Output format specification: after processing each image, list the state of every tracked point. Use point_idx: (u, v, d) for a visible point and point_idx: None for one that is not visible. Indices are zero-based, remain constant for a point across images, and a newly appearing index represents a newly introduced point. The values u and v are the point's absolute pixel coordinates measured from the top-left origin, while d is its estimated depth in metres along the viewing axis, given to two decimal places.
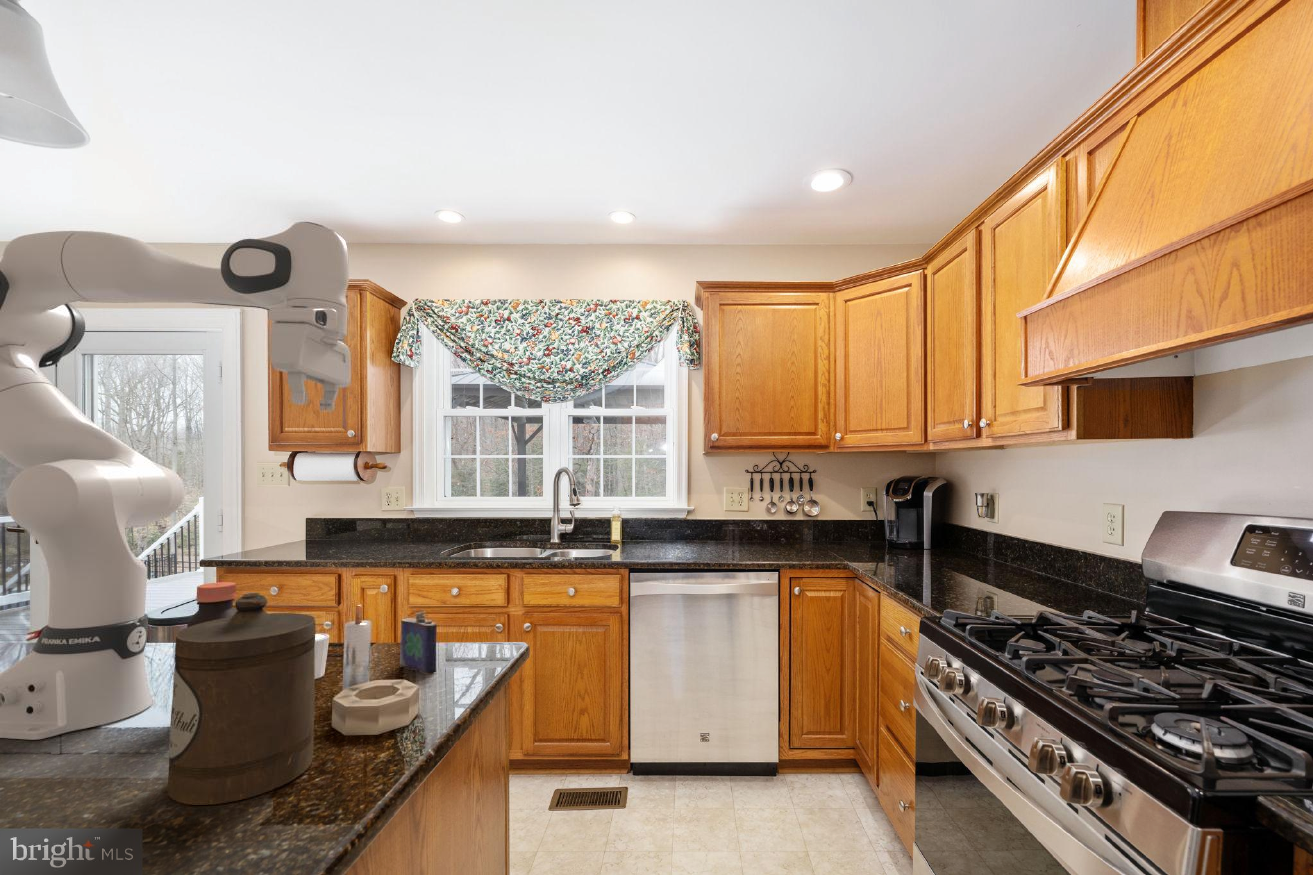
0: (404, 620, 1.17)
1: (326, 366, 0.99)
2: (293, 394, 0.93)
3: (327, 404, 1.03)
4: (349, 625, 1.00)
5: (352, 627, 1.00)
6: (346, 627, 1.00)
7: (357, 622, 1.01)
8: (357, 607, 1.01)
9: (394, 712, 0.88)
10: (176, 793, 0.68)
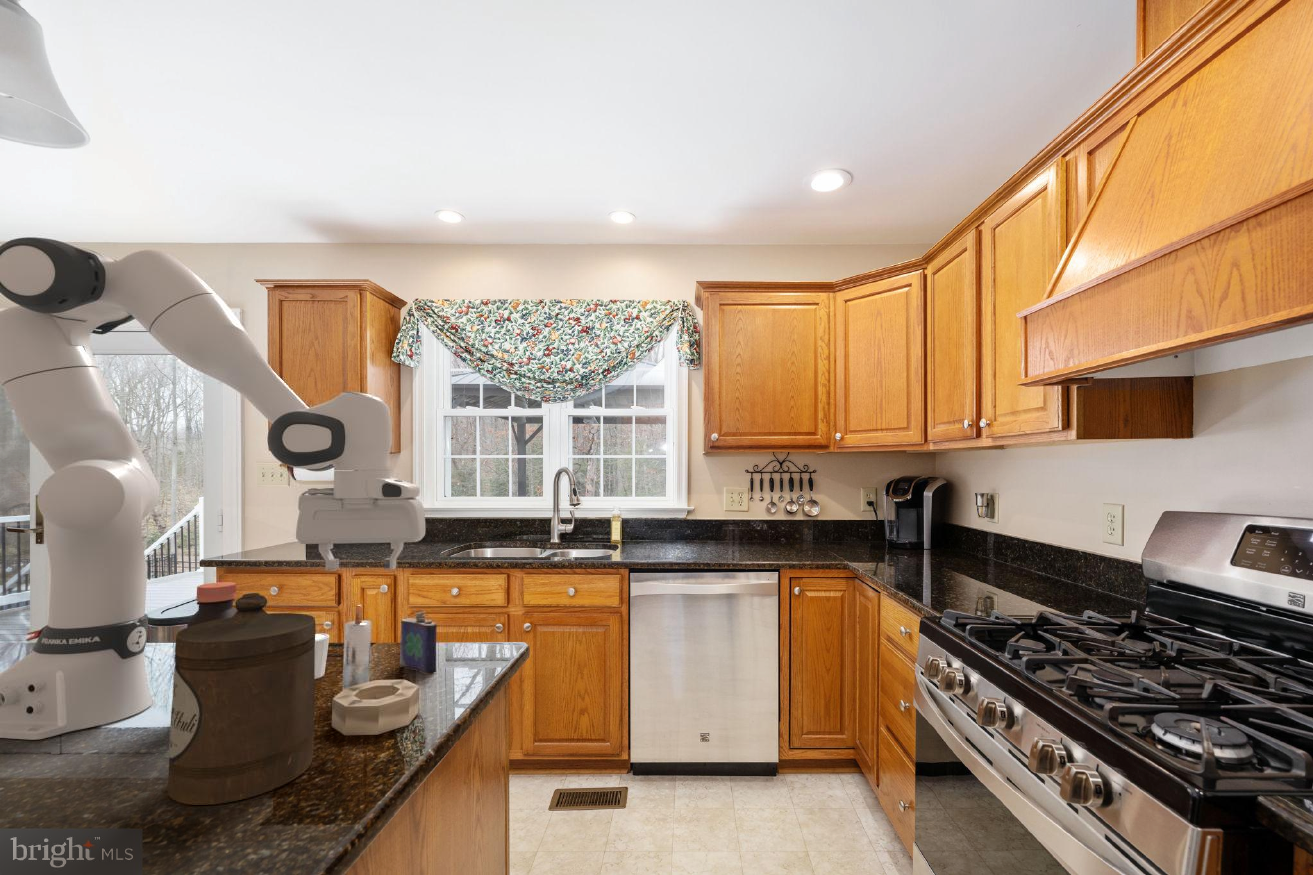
0: (404, 620, 1.17)
1: None
2: (393, 561, 1.02)
3: (336, 563, 1.02)
4: (349, 625, 1.00)
5: (352, 627, 1.00)
6: (346, 627, 1.00)
7: (357, 622, 1.01)
8: (357, 607, 1.01)
9: (394, 712, 0.88)
10: (176, 793, 0.68)
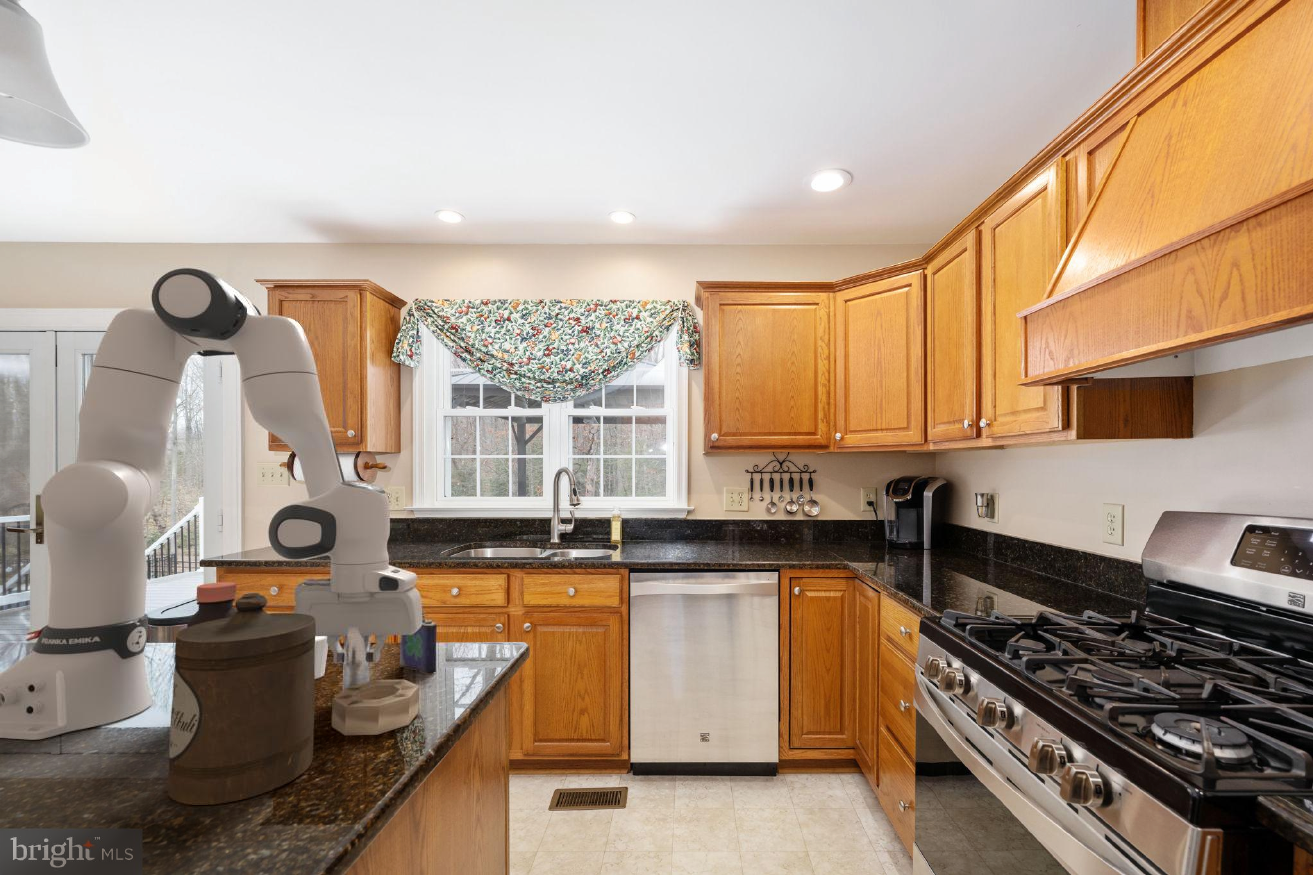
0: None
1: None
2: (376, 653, 1.01)
3: None
4: None
5: (352, 627, 1.00)
6: None
7: None
8: None
9: (394, 712, 0.88)
10: (176, 793, 0.68)
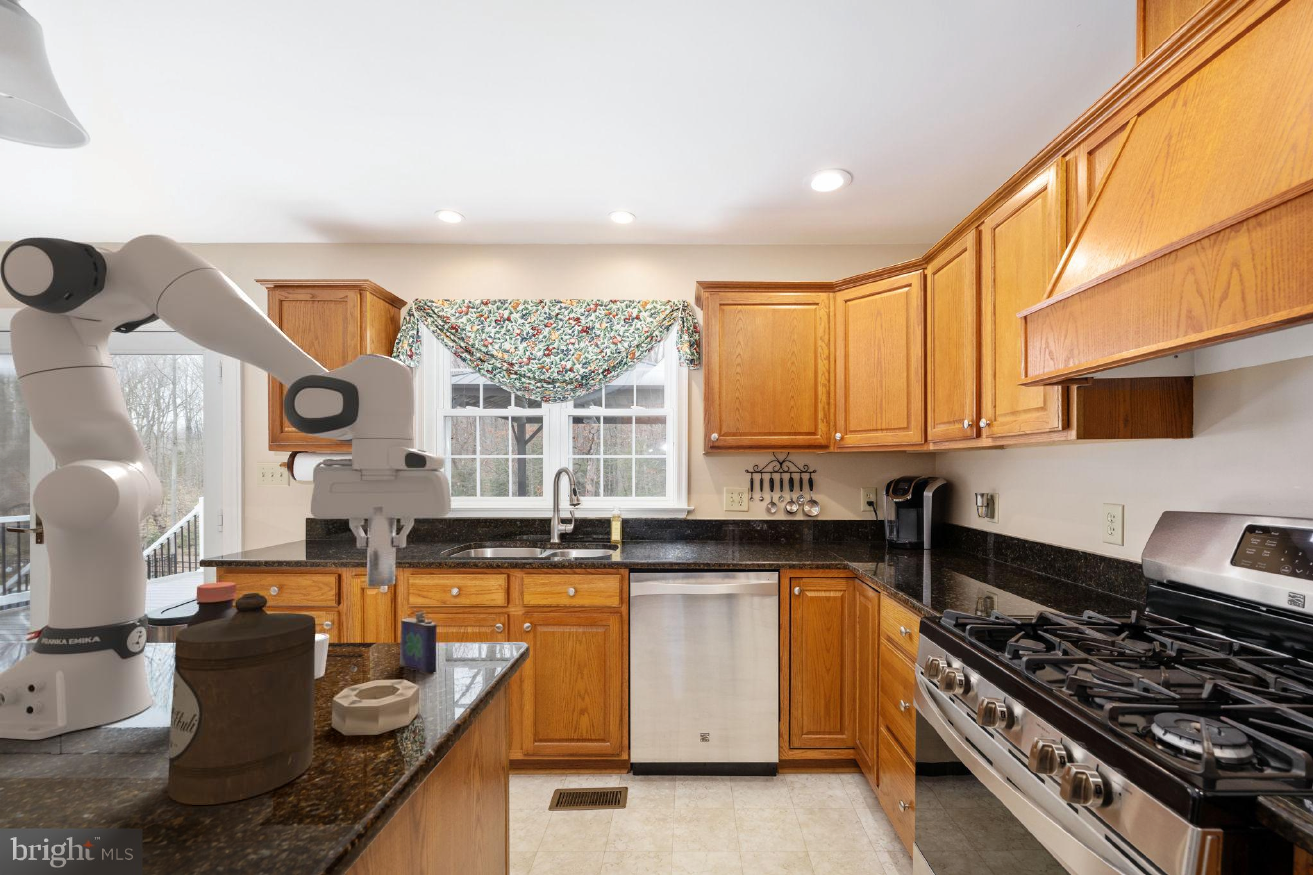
0: (404, 620, 1.17)
1: None
2: (403, 538, 0.94)
3: None
4: (373, 507, 0.93)
5: (376, 508, 0.92)
6: None
7: None
8: None
9: (394, 712, 0.88)
10: (176, 793, 0.68)
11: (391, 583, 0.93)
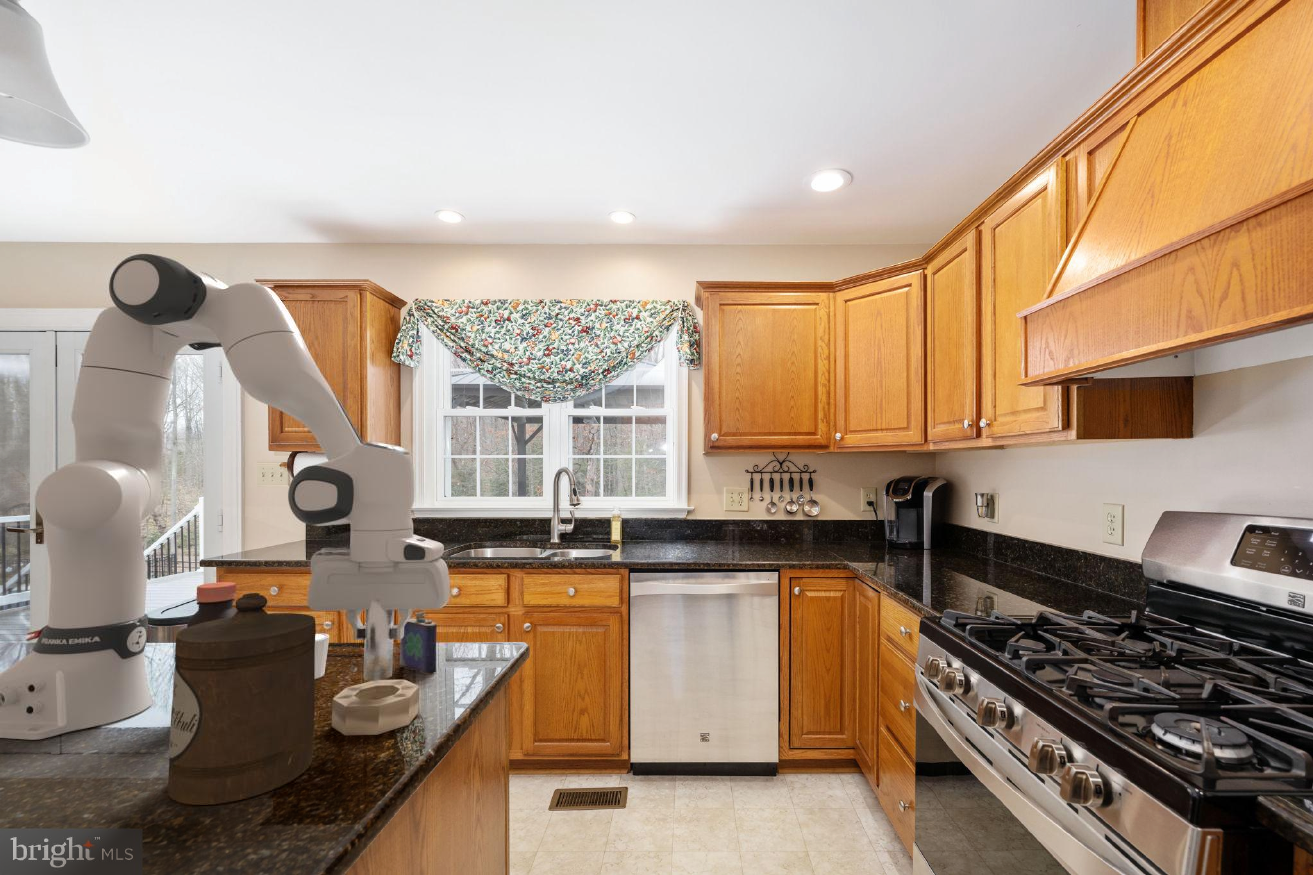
0: None
1: None
2: (401, 629, 0.92)
3: None
4: None
5: (374, 600, 0.91)
6: None
7: None
8: None
9: (394, 712, 0.88)
10: (176, 793, 0.68)
11: (388, 676, 0.91)
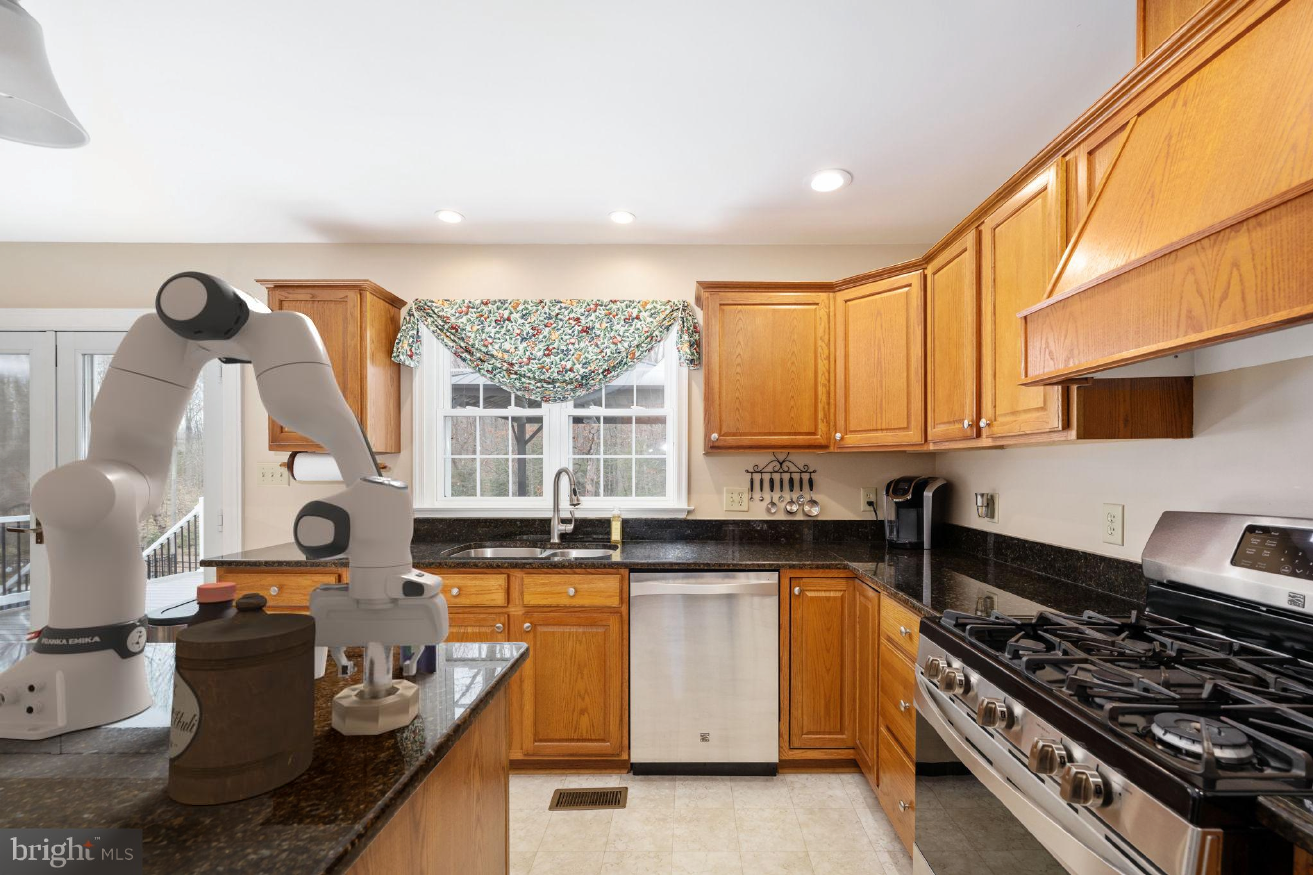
0: None
1: None
2: (413, 665, 0.92)
3: (350, 667, 0.92)
4: None
5: (372, 644, 0.90)
6: None
7: None
8: None
9: (394, 712, 0.88)
10: (176, 793, 0.68)
11: None
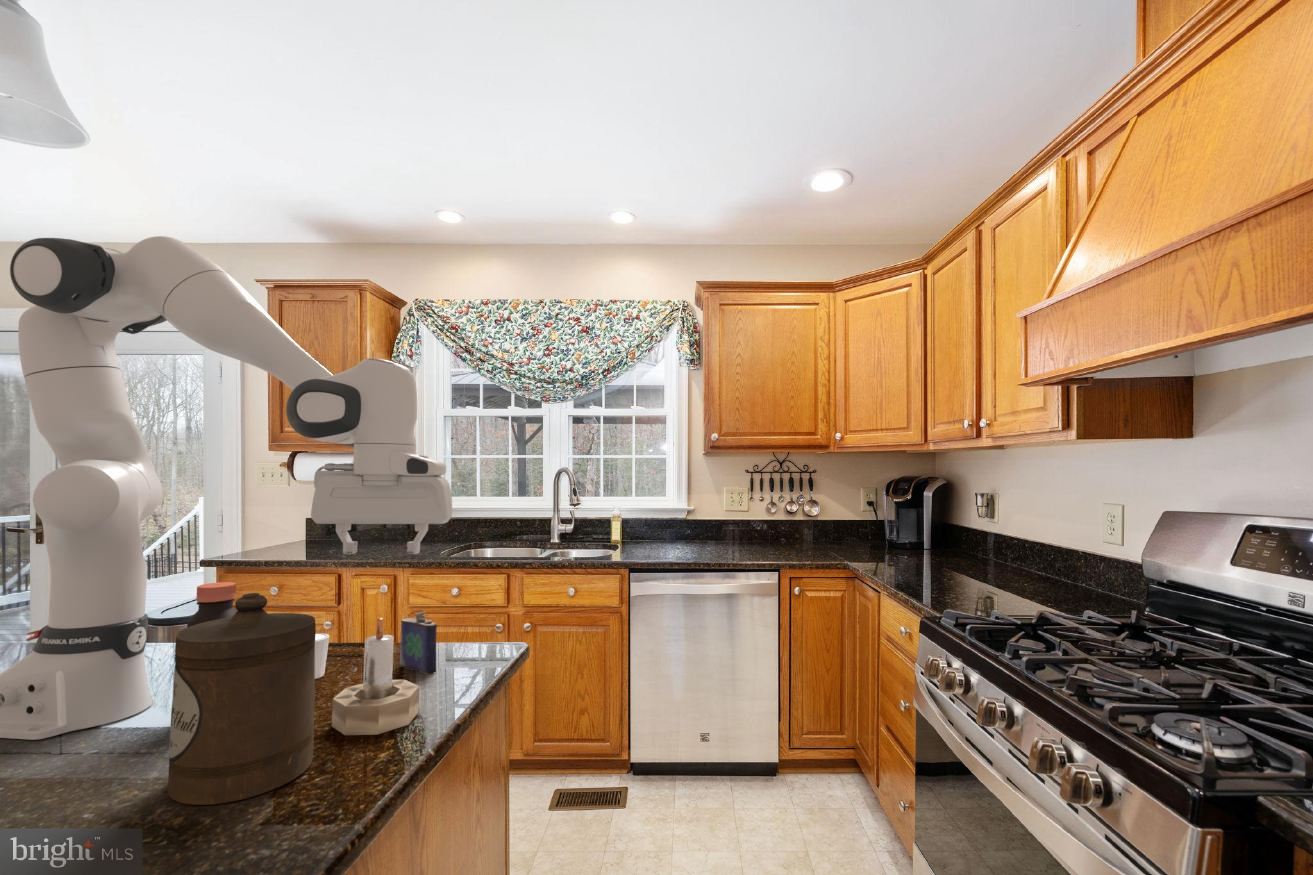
0: (404, 620, 1.17)
1: None
2: (417, 544, 0.93)
3: (355, 546, 0.93)
4: (370, 640, 0.91)
5: (373, 643, 0.90)
6: (367, 643, 0.91)
7: (378, 637, 0.92)
8: (378, 620, 0.92)
9: (394, 712, 0.88)
10: (176, 793, 0.68)
11: None
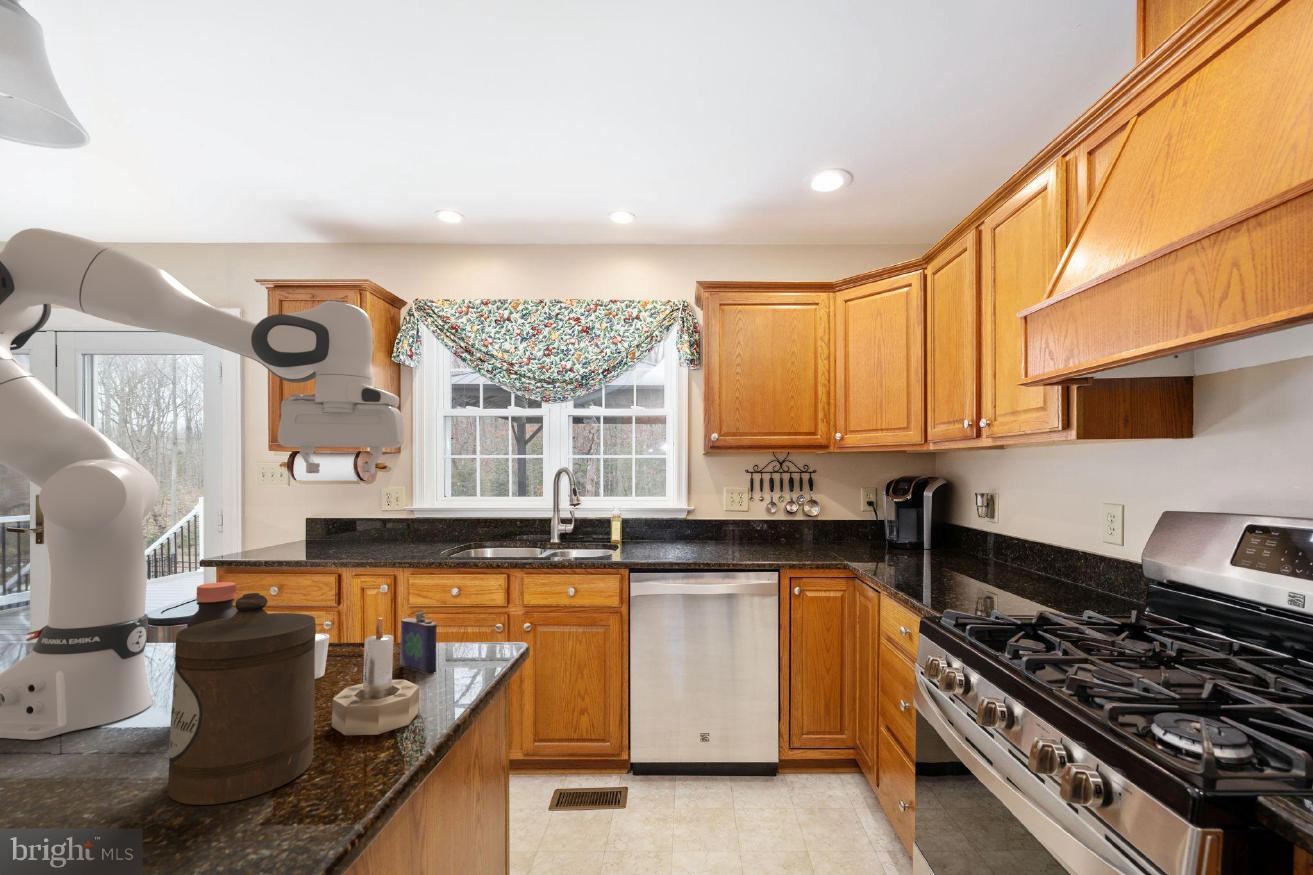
0: (404, 620, 1.17)
1: None
2: (372, 465, 1.06)
3: (317, 467, 1.06)
4: (370, 640, 0.91)
5: (373, 643, 0.90)
6: (366, 643, 0.91)
7: (378, 637, 0.92)
8: (378, 620, 0.92)
9: (394, 712, 0.88)
10: (176, 793, 0.68)
11: None
